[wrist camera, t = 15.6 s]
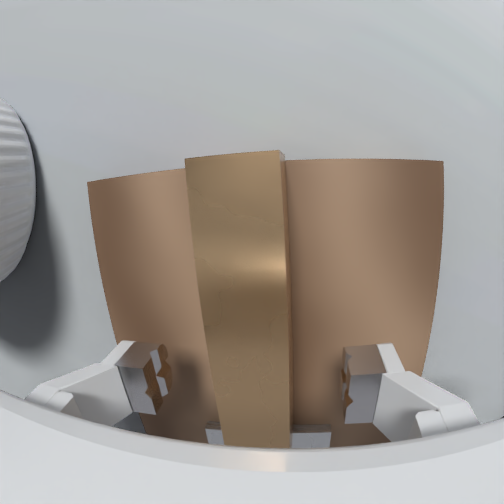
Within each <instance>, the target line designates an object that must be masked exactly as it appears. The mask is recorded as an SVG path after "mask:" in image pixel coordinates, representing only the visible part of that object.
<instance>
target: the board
mask: <svg viewBox="0 0 504 504" xmlns="http://www.w3.org/2000/svg"><path fill="white" fill-rule="evenodd" d="M285 170H286V186H287V204H288V222H289V243H290V267H291V295H292V333H293V425H301V424H331V439H330V447H346V446H360V445H370V444H380V443H388V442H391V441H390V440H389V439H388V438H387V437H386V436H385V435H384V434H383V433H382V432H381V431H380V430H379V429H378V428H377V427H376V426H375V425H374V424H373V422H371V423H353V424H345V423H344V416H343V400H341V392H340V378H341V370H342V369H343V362H342V353H343V347H349V346H361V345H372V344H382V343H392V344H393V346H394V348H395V350H396V352H397V354H398V356H399V358H400V361H401V363H402V365H403V367H404V369H405V371H411V372H413V373H415V374H416V375H418V376H420V377H421V375H422V371H423V367H424V363H425V358H426V353H427V349H428V344H429V338H430V333H431V327H432V322H433V316H434V309H435V302H436V295H437V288H438V279H439V270H440V260H441V248H442V232H443V208H444V167H443V161H430V160H405V159H313V160H286V161H285ZM87 185H88V194H89V203H90V211H91V219H92V226H93V232H94V239H95V245H96V251H97V257H98V262H99V268H100V273H101V278H102V283H103V288H104V292H105V297H106V301H107V306H108V310H109V314H110V318H111V323H112V327H113V330H114V334H115V338H116V342H117V345H118V344H119V343H120V342H121V341H123V340H128V341H136V342H137V341H138V342H147V343H157V344H164V345H165V346H166V348H167V352H168V357H167V359H166V362H167V363H168V364H169V365H170V366H171V369H172V377H173V381H172V386H171V389H170V391H169V393H168V394H166V395H165V396H163V397H162V398H163V404H162V406H161V407H160V409H159V411H158V413H157V414H156V415H154V414H147V413H140V412H139V415H140V418H141V420H142V423H143V426H144V428H145V431H146V434H148V435H153V436H159V437H165V438H171V439H177V440H184V441H192V442H199V443H208V439H207V435H206V430H205V428H206V425H207V422H208V421H217V422H220V420H219V414H218V409H217V404H216V398H215V393H214V387H213V381H212V375H211V369H210V363H209V357H208V351H207V345H206V338H205V332H204V325H203V318H202V311H201V304H200V297H199V289H198V282H197V274H196V266H195V258H194V250H193V241H192V232H191V223H190V213H189V203H188V193H187V182H186V170H185V168H184V169H175V170H166V171H158V172H150V173H143V174H136V175H129V176H122V177H116V178H109V179H103V180H97V181H91V182H87ZM208 444H209V443H208Z"/></svg>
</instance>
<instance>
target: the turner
mask: <svg viewBox="0 0 504 504" xmlns="http://www.w3.org/2000/svg"><path fill="white" fill-rule="evenodd" d="M185 170H186V182H187V193H188V203H189V213H190V223H191V232H192V241H193V250H194V258H195V266H196V274H197V282H198V289H199V297H200V304H201V311H202V318H203V325H204V332H205V338H206V345H207V351H208V357H209V363H210V369H211V375H212V381H213V387H214V393H215V398H216V404H217V409H218V414H219V420H220V422H217V421H208V422H207V425H206V428H205V430H206V435H207V439H208V443H209V444H218V445H228V446H242V447H260V448H329V447H330V439H331V424H301V425H293V333H292V295H291V267H290V243H289V222H288V204H287V186H286V170H285V155H284V154H283V153H282V152H281V151H279V150H275V151H260V152H247V153H235V154H224V155H214V156H204V157H195V158H187V159H185Z"/></svg>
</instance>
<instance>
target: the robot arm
mask: <svg viewBox="0 0 504 504" xmlns="http://www.w3.org/2000/svg"><path fill="white" fill-rule="evenodd" d="M167 357H168V352H167V348H166V346H165V345H164V344H157V343H147V342H138V341H137V342H136V341H128V340H123V341H121V342H120V343H119V344H118V345H117V346H116V347H115V348H114V349H113V350H112V351H111V352H110V353H109V355H108V356H107V357H106V358H105V359H104V360H103V361H102V362H101V363H95V364H92V365H89V366H87V367H84V368H81V369H79V370H76V371H73V372H71V373H68V374H65V375H63V376H60V377H57V378H54V379H52V380H49V381H46V382H43V383H41V384H39V385H38V386H37V387H36V388H35V389H34V390H33V391H32V392H31V393H30V394H29V395H28V396H27V397H26V398H25V399H22V398H19V397H17V396H14V395H12V394H9V393H7V392H5V391H2V390H0V504H504V418H501V419H498V420H495V421H491V422H488V423H484V424H481V425H480V423H479V421H478V419H477V417H476V416H475V414H474V412H473V410H472V408H471V407H470V405H469V403H468V402H467V401H465V400H463V399H461V398H459V397H458V396H456V395H454V394H452V393H450V392H448V391H446V390H444V389H442V388H441V387H439V386H437V385H435V384H433V383H431V382H429V381H428V380H426V379H424V378H422V377H420V376H418V375H416V374H415V373H413V372H411V371H405V369H404V367H403V365H402V363H401V361H400V358H399V356H398V354H397V352H396V350H395V348H394V346H393V344H392V343H382V344H372V345H361V346H349V347H343V353H342V362H343V369H342V370H341V378H340V392H341V400H343V416H344V423H345V424H353V423H371V422H373V424H374V425H375V426H376V427H377V428H378V429H379V430H380V431H381V432H382V433H383V434H384V435H385V436H386V437H387V438H388V439H389V440H390V441H391V442H388V443H380V444H370V445H360V446H346V447H329V448H260V447H242V446H228V445H218V444H208V443H199V442H192V441H184V440H177V439H171V438H165V437H159V436H153V435H148V434H143V433H138V432H133V431H129V430H124V429H120V428H115V427H112V426H113V425H115V424H116V423H118V422H119V421H121V420H122V419H124V418H125V417H127V416H128V415H130V414H131V413H133V412H140V413H147V414H154V415H156V414H157V413H158V411H159V409H160V407H161V406H162V404H163V398H162V397H163V396H165V395H166V394H168V393H169V391H170V389H171V386H172V381H173V377H172V369H171V366H170V365H169V364H168V363H167V362H166V359H167ZM132 411H133V412H132Z"/></svg>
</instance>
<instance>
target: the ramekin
mask: <svg viewBox="0 0 504 504" xmlns="http://www.w3.org/2000/svg"><path fill="white" fill-rule="evenodd" d="M35 204H36V175H35V165H34V159H33V154H32V149H31V145H30V142H29V139H28V136H27V133H26V130H25V128H24V126H23V124H22V122H21V121H20V119H19V116H18V115H17V114H16V112H15V111H14V109H13V107H11V106H10V105H9V104H8V103H7V102H6V101H5V100H3V99H1V98H0V282H1V281H2V280H4V279H5V278H6V277H7V276H8V275H9V274H10V273H11V272H12V271H13V270H14V269H15V268H16V266H17V264H18V263H19V262H20V260H21V258H22V255H23V253H24V251H25V248H26V245H27V242H28V239H29V236H30V233H31V230H32V226H33V220H34V213H35Z"/></svg>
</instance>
